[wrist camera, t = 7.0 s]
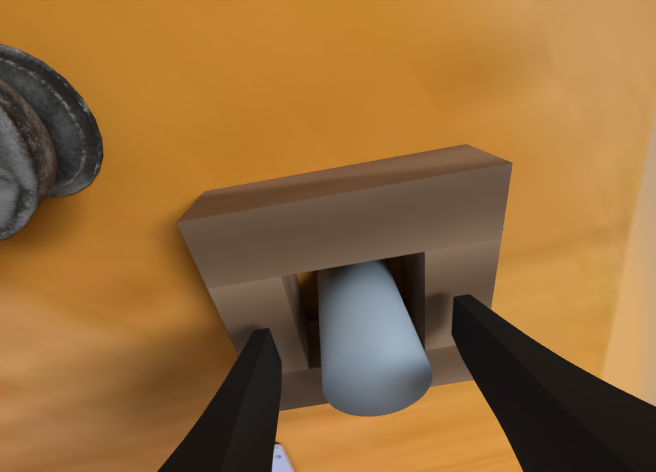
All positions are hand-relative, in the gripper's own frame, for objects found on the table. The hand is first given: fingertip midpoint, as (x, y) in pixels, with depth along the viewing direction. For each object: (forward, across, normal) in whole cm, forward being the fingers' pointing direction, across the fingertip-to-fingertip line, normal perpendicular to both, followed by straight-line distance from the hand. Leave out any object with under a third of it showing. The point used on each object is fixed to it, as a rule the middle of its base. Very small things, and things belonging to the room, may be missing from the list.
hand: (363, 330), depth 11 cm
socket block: (+4, 0, 0) cm, 4 cm away
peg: (+4, 0, 0) cm, 4 cm away
